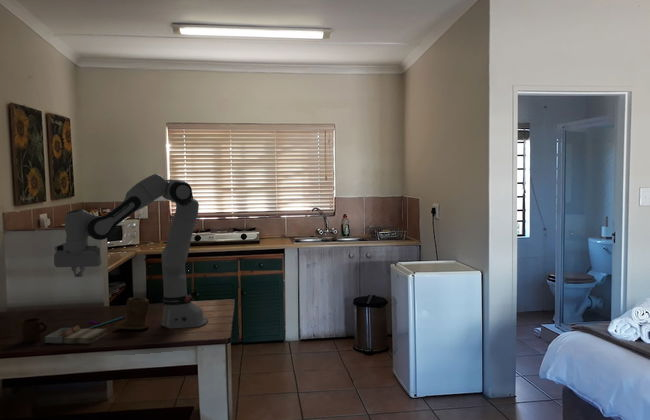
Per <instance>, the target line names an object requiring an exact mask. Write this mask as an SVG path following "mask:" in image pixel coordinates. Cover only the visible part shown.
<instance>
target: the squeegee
mask: <svg viewBox="0 0 650 420" xmlns="http://www.w3.org/2000/svg"><path fill="white" fill-rule="evenodd" d="M122 319H126V318H125V316H120V317H117V318H114V319H111V320H108V321H105V322H101V321H93V320H89V321H88V324H92V325H93V324H94V325H93V326H90V327H87V328H86V329H95V328H98V327H100V326H104V325H107V324H110V323H113V322H116V321H119V320H122Z"/></svg>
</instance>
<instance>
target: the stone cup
mask: <svg viewBox="0 0 650 420" xmlns="http://www.w3.org/2000/svg"><path fill="white" fill-rule="evenodd" d="M149 301H150V300H149V299H147V298H146V297H129V298H127V300H126V303H125V304H126V305H125V306H126V307H125V308H126V309H125V310H126V315H127V319H126V320H124V321H123V320H122V321H118V322H116V323H115V324H114V325H113V329H115V330H116V329H117V330H127V331H128V330H144V329H147V328H149V327H150V325H151V324H150V323H149V322H147V321H146V317H147V315H148V311H149V307H150V306H149V305H150V302H149Z"/></svg>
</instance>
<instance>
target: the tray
mask: <svg viewBox="0 0 650 420" xmlns="http://www.w3.org/2000/svg"><path fill="white" fill-rule="evenodd" d="M71 328H72V327H62V328H59V329H58V330H56V331H53V332H52V333H50V334H48V335H46V336H44V344H45V343H53V344H65V343H64V342H63V337H57V336H58V335H60V334H62V333H64V332H66V331H68V330H70V329H71Z"/></svg>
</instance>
